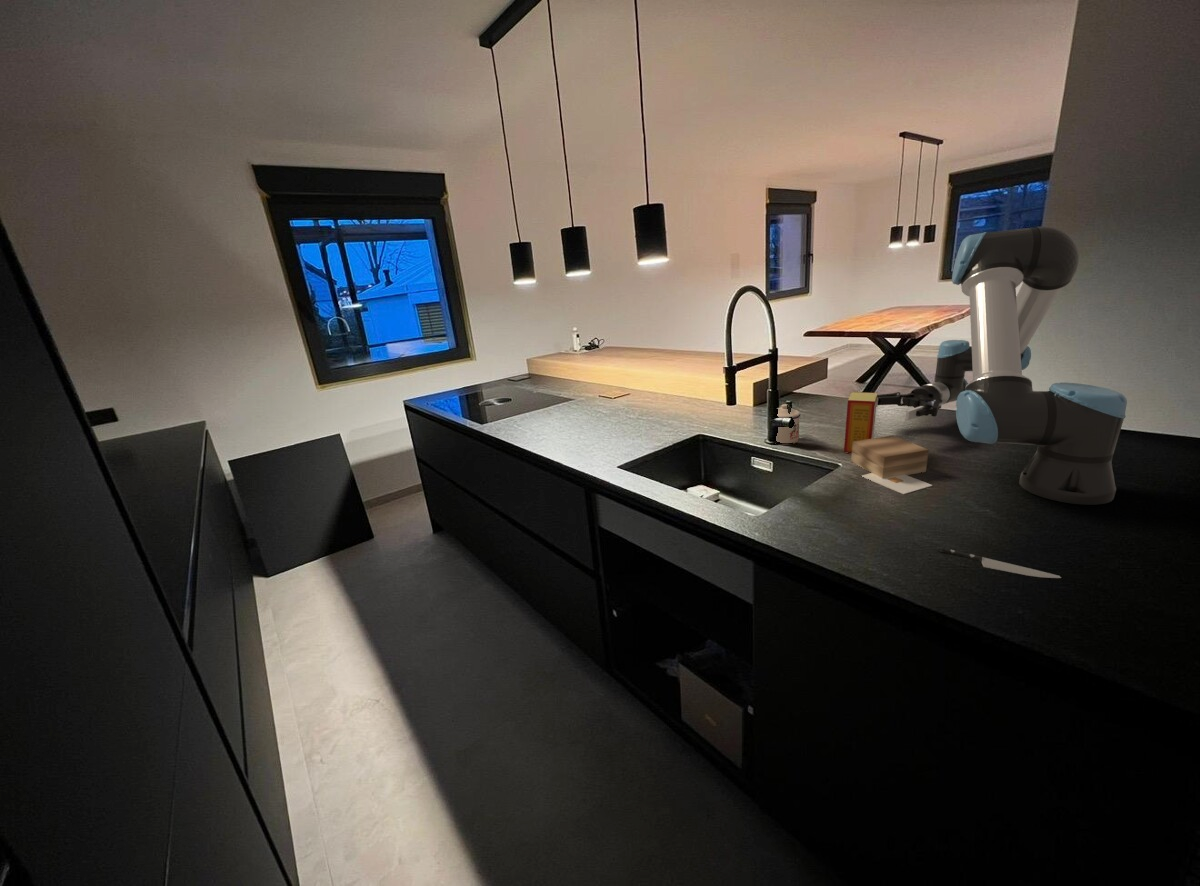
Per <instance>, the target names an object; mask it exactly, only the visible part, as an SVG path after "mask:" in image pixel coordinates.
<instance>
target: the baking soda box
mask: <svg viewBox="0 0 1200 886" xmlns="http://www.w3.org/2000/svg"><path fill="white" fill-rule="evenodd" d="M877 395H879V393H878V392H863V391H862V392H860V391H858V392H857V391H851V393H850V395H849V397H848V399H847V407H846V420H845V421H846V422H845V433H844V445H843V453H844V452H848V453H852V444H853V442H854V441H860V440H867V439H873V438H874V435H875V426H876V425H875V424H876V414H877V407H876V404H877ZM848 453H847V454H848Z"/></svg>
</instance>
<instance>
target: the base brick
mask: <svg viewBox="0 0 1200 886" xmlns="http://www.w3.org/2000/svg"><path fill="white" fill-rule="evenodd" d="M929 451H930V450H929V449H927V448H925V447H923V446H920V445H918V444H915V443H913V442H911V441H908V440H905V439H903V438H901V437H898V436H896V435H894V434H893V435H888V436H887V435H886V436H881V437H880V436H879V437H873V439H867V440H860V441H854V442H853V444H852V454H851V459H850V463H851V462H853V463H854V465H855V464H856V465H855V466H857V465H858V466H857V467H859V466H860V467H859V468H861V467H862V468H861V469H862V470H864V469H865V470H864V471H866V470H867V471H866V472H868V471H869V472H868V473H870V472H871V473H873V474H875V475H877V476H879V477H881V478H888V477H894V476H900V475H907V476H911V475H915V474H920V473H921V472H922V473H926V472H927V466H928V458H929V453H930V452H929ZM853 463H852V464H853ZM922 473H921V474H922Z"/></svg>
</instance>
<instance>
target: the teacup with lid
mask: <svg viewBox="0 0 1200 886" xmlns="http://www.w3.org/2000/svg"><path fill="white" fill-rule="evenodd" d="M787 405H788V404H786V403H784V404H781V405H780V407H777V409H778V414H777V416H778V417H779V418H789V417H792V418H793V420H794V422H795V424H794V426H793V427H792V428H789V427H778V433H777V436H776V441H777V442H780V443H792V442H796V441H797V442H799V438H800V436H799V435H800V417H801V413H800V411H799V410H796V409H793V408H791V407H790V408H791V412H790V414H789V413H788V409H787ZM797 442H796V443H797Z"/></svg>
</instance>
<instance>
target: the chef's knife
mask: <svg viewBox="0 0 1200 886" xmlns="http://www.w3.org/2000/svg"><path fill="white" fill-rule="evenodd" d="M935 549H936V551H937V552H939V553H942V554H947V555H953V556H957V557H958V556H959V557H963V558H967V559H970V560H974V561H977V562H978V561H979V562H980V563H981V564H982V567H983V568H987V569H992V570H997V571H1003V572H1008V573H1011V574H1012V573H1013V574H1018V575H1024V576H1029V577H1037V578H1050V579H1061V578H1062V577H1061V576H1060V575H1057V574H1054V573H1050V572H1046V571H1042V570H1039V569H1033V568H1030V567H1025V566H1022V565H1016V564H1012V563H1009V562H1004V561H1000V560H996V559H991V558H987V557H984V556H981V555H976V554H972V553H967V552H962V551H959V550H955V549H954V550H953V549H950V548H947V547H943V546H937V547H936V548H935Z"/></svg>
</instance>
